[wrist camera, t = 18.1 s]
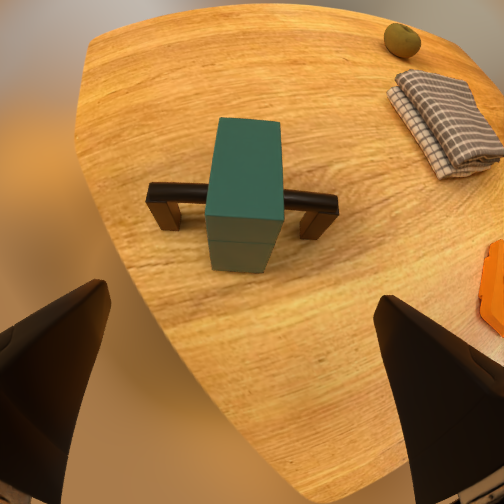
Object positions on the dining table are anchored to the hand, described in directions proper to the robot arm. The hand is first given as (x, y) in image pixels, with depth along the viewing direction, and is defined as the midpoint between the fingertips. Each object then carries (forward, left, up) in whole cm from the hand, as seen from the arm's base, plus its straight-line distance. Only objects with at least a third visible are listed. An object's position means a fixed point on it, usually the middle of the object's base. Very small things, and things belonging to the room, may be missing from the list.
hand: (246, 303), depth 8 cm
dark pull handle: (+4, +7, -14) cm, 16 cm away
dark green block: (+4, +7, -13) cm, 15 cm away
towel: (+38, +8, -14) cm, 41 cm away
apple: (+49, +29, -14) cm, 59 cm away
